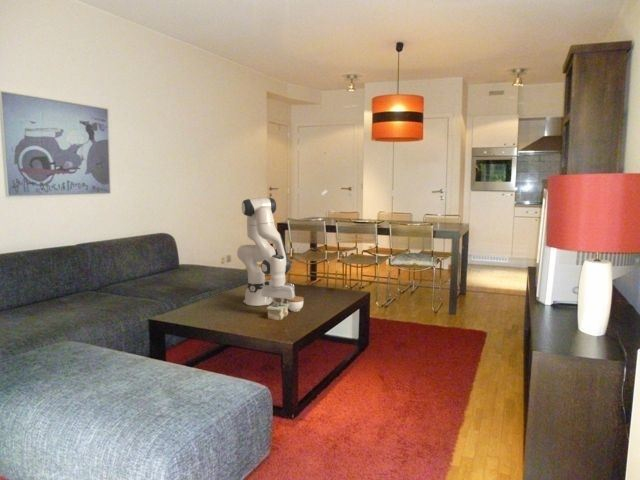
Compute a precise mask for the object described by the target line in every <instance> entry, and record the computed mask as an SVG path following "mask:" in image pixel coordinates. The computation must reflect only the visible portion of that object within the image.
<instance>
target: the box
mask: <svg viewBox="0 0 640 480" xmlns="http://www.w3.org/2000/svg"><path fill="white" fill-rule="evenodd" d="M287 316H289V308H288V306H287V307H286V308H284V309H283V310H281V311H280V310H270V309H267V319H268V320H276V321H281V320H283V319H284V318H286V317H287Z"/></svg>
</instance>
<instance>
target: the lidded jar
mask: <svg viewBox="0 0 640 480" xmlns="http://www.w3.org/2000/svg"><path fill="white" fill-rule="evenodd" d="M304 299H305V297H303V296H296V295H295V297H294V298H293V299H286V304H289V306H288V310H289V311H290V312H300V310H302V308H303V307H304Z"/></svg>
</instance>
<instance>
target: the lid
mask: <svg viewBox="0 0 640 480" xmlns="http://www.w3.org/2000/svg"><path fill="white" fill-rule="evenodd" d="M281 301H282V300H281V299H280V300H277V301H276V302H275V303H274V302H273V304H272V303H271V305H268V306H267V307H266V310H268V309H270V310H280V311H281V310H283V309H284V308H286V307H287V306H289V304H287V303H284V302H283V305H282V306H280V305H279V303H280V302H281Z"/></svg>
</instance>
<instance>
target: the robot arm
mask: <svg viewBox="0 0 640 480" xmlns="http://www.w3.org/2000/svg"><path fill="white" fill-rule="evenodd" d="M276 211H277V202H276V200H275V199H274V198H272V197H256V198H250V199H249V198H247V199H244V200H243V201H241V213H242V214H243V215H244V216H246V230H247V232H246V233H247V235H246V236H247V237H248V238H249V240H251V241H253V242H254V243H255V244H242V245H240V246H238V248H237V250H236V251H237V252H236V255H237V258H238V259H239V260H240V262H241V261H242V263H243V264H244V266H245V268H246V271H247V283H246V288H247V289H246V290H245V295H244V296H245V297H244V300H243V303H244V304H246V305H248V306H255V307H256V306H257V307H258V306H266V305H267V306H270V304H272V303H273V304H274V303H275V302H277V301H276V299H280V300H281V302H280V303H279V305H280V306H282V305H283V303H284V301H285V299H286V300H287V299H293V298H294V297H295V296H296V294H295V285H294V284H293V283H289V282H287V278H286V274H288V273H289V271H291V268H292V267H291V266H292V263H291V261H290V259H289V257H288V253H287V250H286V247H285V243H284V238H283V237H282V234H281V232H279V231H278V230H277V228H276V224H275V218H274V214H275V212H276ZM268 241H269V242H271V243H273V244H274V245H275V248H276V249H275V248H274V247H273V246H272V245H271V244H270V243H269V242H268ZM258 263H261V266H260V265H258ZM266 276H270V278H269V279H266Z"/></svg>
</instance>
